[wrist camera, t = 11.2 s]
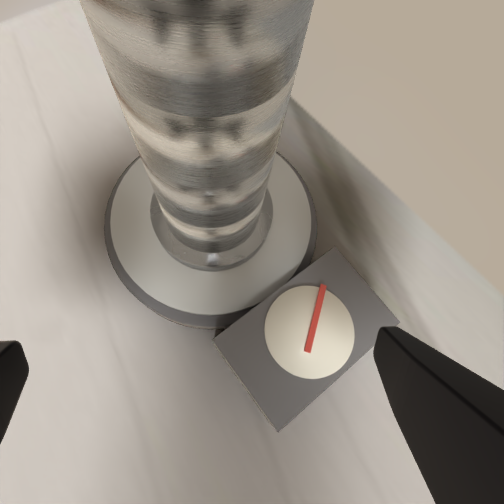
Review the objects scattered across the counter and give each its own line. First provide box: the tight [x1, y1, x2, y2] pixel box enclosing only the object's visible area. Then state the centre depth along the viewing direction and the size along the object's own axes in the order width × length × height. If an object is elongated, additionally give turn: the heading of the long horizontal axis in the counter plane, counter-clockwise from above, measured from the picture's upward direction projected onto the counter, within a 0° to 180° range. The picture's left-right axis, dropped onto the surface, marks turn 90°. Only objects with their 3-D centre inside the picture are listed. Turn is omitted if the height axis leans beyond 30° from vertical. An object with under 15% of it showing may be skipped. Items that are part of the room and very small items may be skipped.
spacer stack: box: [79, 0, 314, 272], centre depth 12 cm, size 6×6×14 cm
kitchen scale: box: [104, 152, 400, 432], centre depth 19 cm, size 12×16×4 cm
